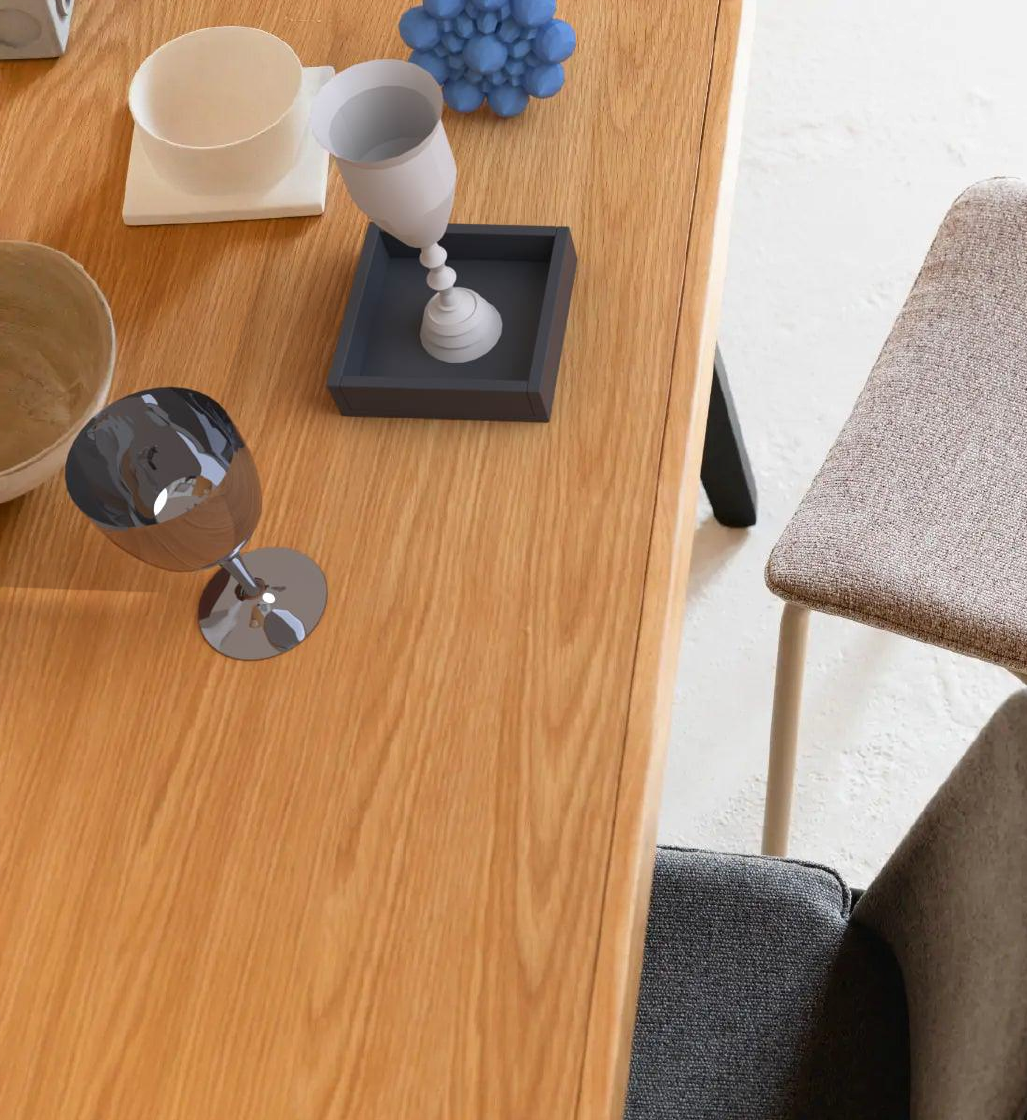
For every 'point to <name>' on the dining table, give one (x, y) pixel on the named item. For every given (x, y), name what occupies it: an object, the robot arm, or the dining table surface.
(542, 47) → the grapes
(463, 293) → the chalice
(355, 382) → the tray
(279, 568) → the wine glass
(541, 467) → the dining table surface
